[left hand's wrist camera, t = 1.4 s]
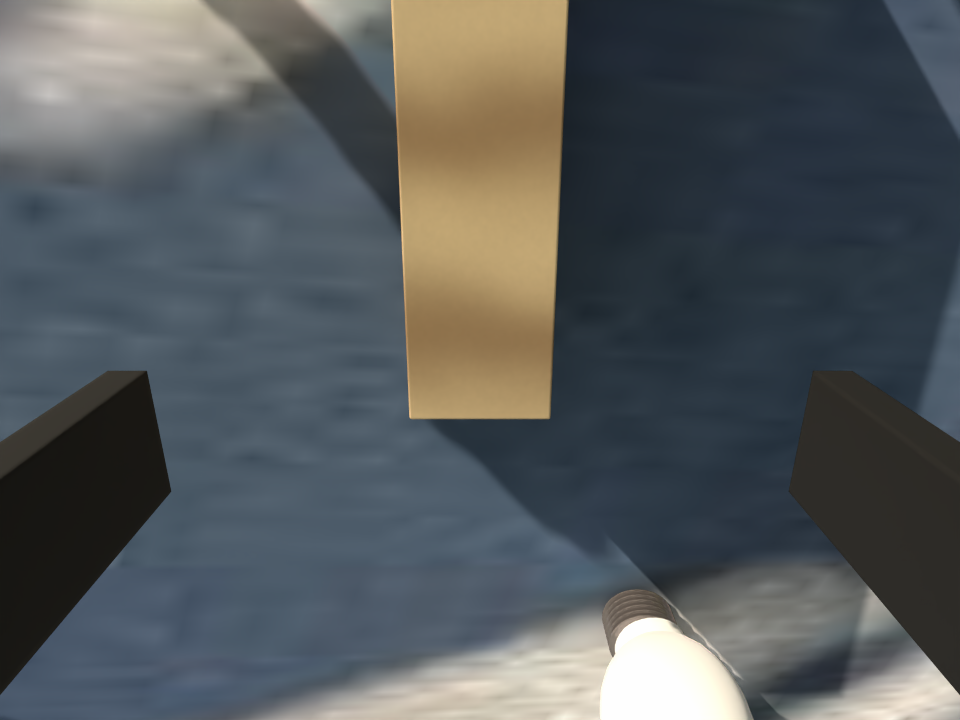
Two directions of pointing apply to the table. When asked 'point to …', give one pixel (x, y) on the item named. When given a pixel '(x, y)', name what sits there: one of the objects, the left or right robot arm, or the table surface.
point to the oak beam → (480, 201)
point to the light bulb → (662, 667)
